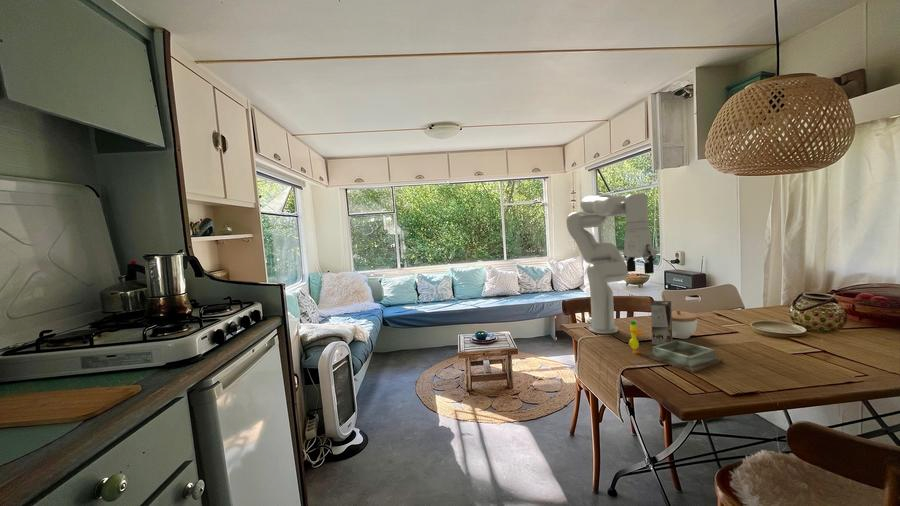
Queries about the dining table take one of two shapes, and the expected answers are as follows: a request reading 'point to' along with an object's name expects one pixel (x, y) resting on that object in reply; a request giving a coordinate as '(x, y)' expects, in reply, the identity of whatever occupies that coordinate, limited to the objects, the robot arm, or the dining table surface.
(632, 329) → the toy figure
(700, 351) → the tray
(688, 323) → the lidded bowl
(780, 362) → the dining table surface
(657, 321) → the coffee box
